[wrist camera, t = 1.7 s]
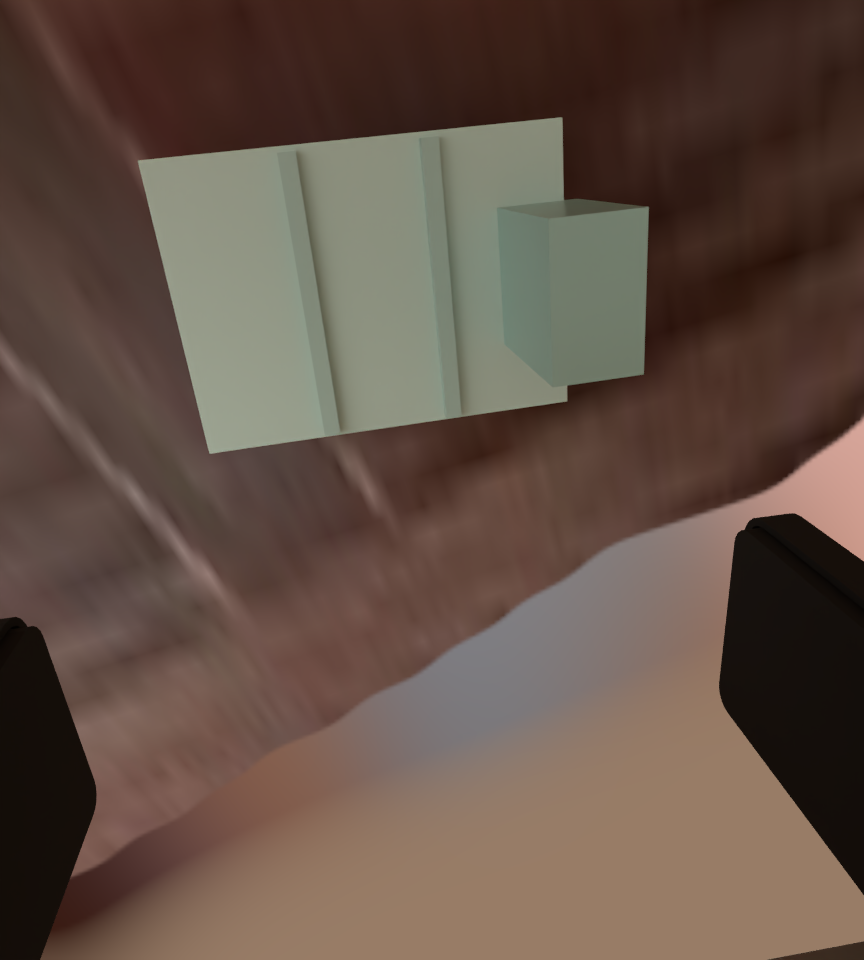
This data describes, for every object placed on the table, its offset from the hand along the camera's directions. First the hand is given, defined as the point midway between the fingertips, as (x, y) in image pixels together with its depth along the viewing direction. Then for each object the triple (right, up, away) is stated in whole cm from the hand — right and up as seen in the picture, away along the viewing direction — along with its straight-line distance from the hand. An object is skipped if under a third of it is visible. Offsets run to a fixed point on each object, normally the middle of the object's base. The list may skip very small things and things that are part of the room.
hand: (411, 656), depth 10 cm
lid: (-2, +10, +18) cm, 21 cm away
